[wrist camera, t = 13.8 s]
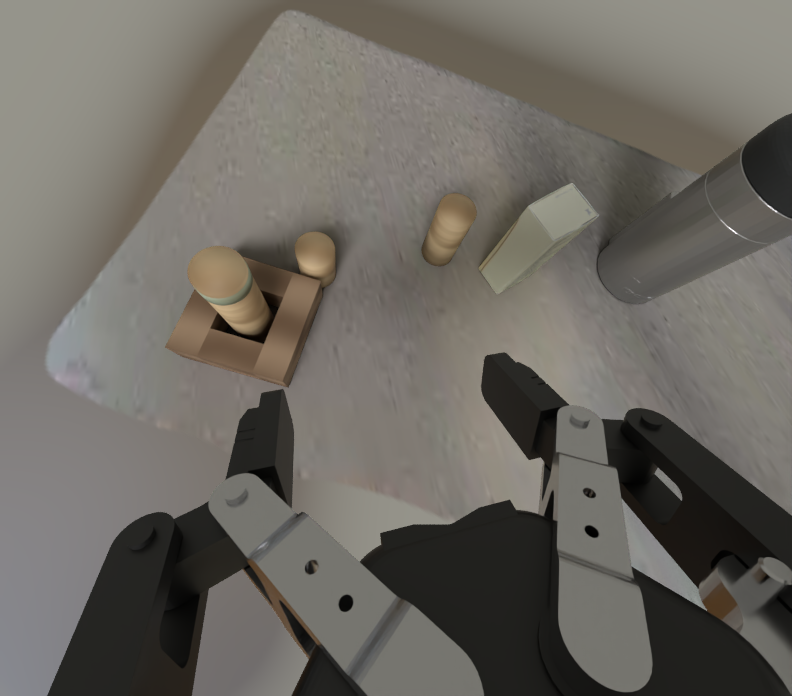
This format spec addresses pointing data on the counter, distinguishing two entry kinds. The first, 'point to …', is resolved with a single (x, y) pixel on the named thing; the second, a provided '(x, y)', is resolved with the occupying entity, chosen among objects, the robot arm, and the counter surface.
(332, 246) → the short pin
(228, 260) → the tall pin
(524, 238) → the skincare box
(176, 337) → the socket block
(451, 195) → the medium pin
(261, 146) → the counter surface
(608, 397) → the counter surface
